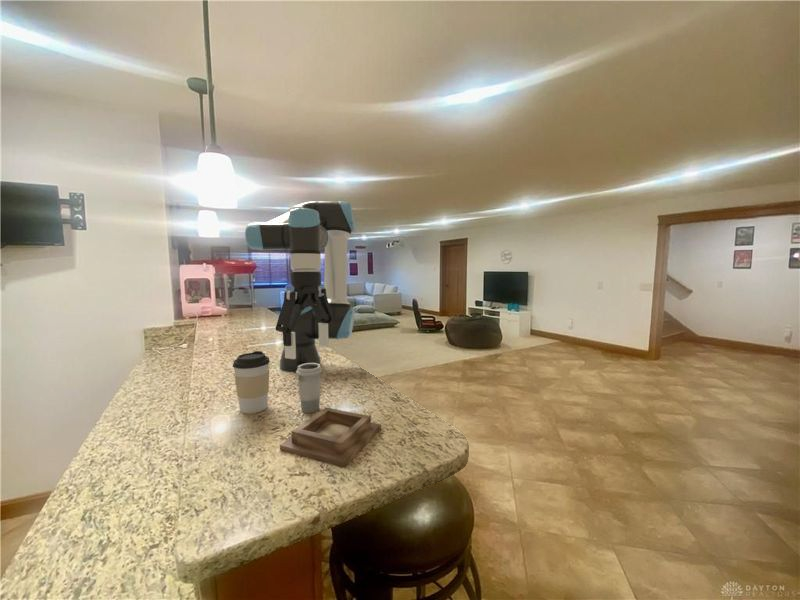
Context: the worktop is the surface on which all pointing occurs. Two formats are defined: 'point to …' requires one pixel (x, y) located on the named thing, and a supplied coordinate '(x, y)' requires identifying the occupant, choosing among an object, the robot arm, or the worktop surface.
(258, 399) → the coffee cup
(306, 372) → the cup
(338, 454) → the holder
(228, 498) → the worktop surface
